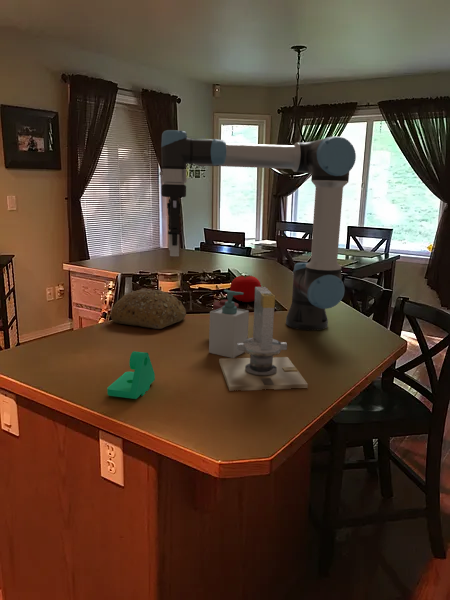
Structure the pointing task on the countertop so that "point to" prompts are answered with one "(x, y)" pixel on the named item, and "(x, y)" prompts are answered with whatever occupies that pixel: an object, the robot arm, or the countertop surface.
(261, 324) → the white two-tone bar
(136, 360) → the camera mount
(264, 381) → the board
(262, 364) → the metal spool
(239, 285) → the tomato
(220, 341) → the soap bottle
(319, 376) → the countertop surface
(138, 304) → the bread
